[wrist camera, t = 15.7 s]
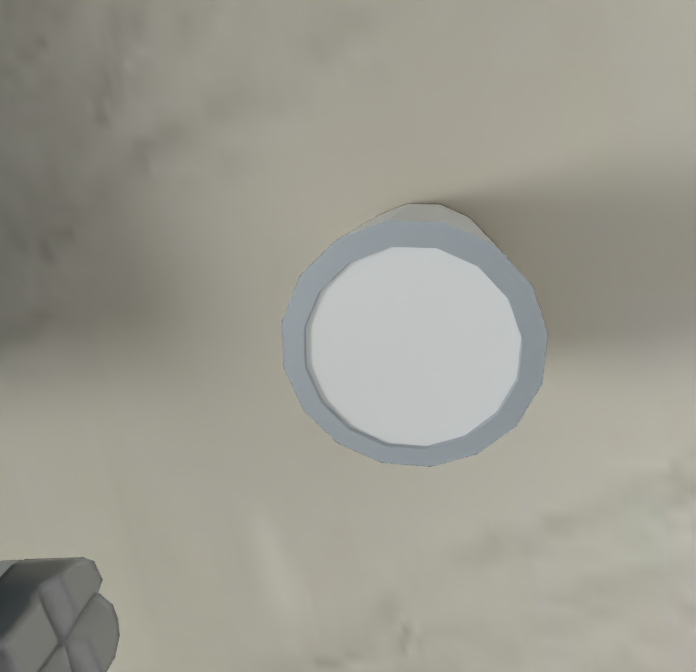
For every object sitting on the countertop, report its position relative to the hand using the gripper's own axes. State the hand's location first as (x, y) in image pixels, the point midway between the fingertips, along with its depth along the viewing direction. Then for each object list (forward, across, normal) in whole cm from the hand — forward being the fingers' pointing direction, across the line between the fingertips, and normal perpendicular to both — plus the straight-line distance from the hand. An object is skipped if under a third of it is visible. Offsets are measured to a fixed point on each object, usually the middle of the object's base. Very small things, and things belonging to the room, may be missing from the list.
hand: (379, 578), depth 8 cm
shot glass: (+15, 0, 0) cm, 16 cm away
